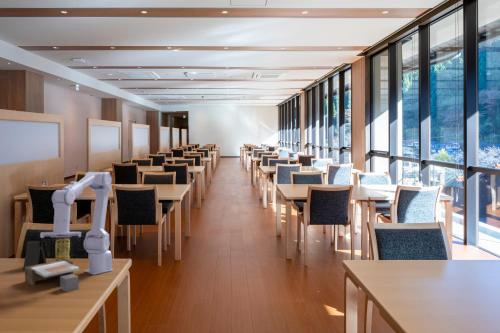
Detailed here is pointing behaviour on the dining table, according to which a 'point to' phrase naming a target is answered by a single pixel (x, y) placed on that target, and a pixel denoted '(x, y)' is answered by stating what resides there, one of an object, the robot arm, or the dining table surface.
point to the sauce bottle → (62, 248)
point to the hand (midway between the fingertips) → (59, 256)
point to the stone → (69, 282)
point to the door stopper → (34, 254)
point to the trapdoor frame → (32, 276)
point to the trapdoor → (54, 269)
